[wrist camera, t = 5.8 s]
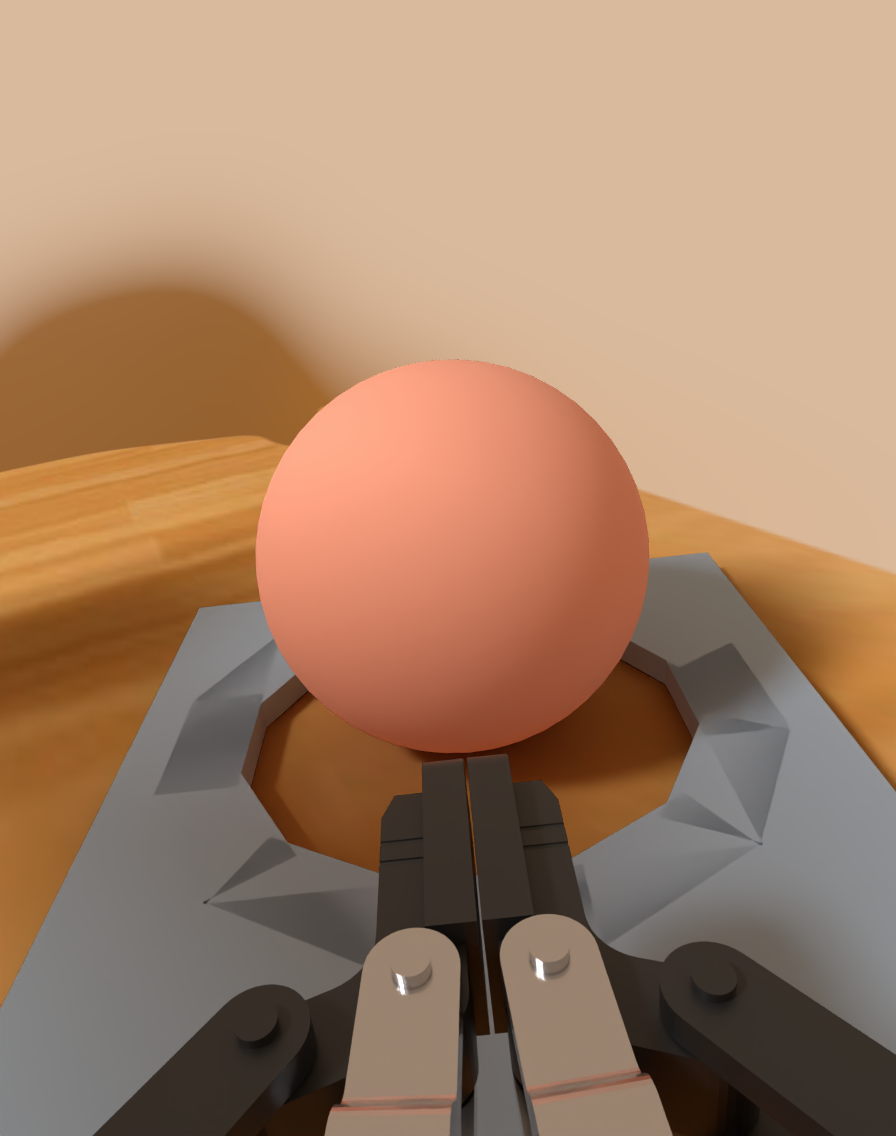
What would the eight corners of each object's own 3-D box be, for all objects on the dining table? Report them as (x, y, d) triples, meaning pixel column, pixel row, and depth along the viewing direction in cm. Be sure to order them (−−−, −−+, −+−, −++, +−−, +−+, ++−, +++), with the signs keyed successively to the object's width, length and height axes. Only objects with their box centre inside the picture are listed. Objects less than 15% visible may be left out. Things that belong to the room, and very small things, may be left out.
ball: (102, 589, 21) (236, 580, 33) (483, 903, 20) (477, 778, 32) (413, 205, 20) (432, 337, 32) (800, 519, 20) (676, 535, 32)
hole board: (1132, 1145, 15) (1146, 1110, 15) (-94, 1271, 15) (-115, 1239, 15) (706, 573, 37) (707, 552, 36) (204, 628, 37) (199, 607, 37)
